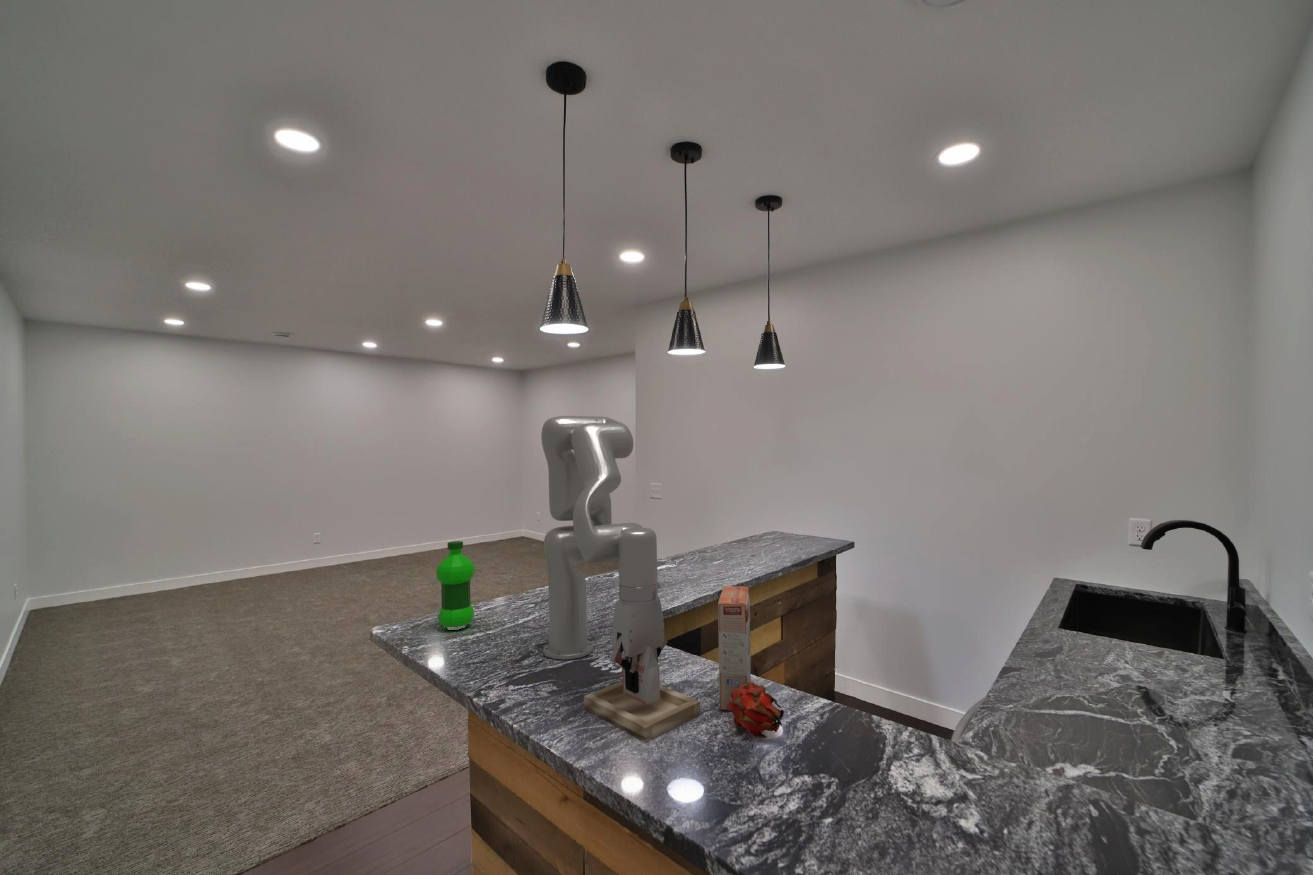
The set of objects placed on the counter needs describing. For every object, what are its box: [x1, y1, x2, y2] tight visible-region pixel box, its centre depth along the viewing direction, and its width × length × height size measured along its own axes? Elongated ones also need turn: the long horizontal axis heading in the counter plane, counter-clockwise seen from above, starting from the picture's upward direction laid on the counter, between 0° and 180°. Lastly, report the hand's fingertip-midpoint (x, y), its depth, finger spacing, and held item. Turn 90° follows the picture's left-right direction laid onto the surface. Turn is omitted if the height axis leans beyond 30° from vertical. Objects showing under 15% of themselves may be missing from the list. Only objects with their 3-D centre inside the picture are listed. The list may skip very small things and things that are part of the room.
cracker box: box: [717, 585, 752, 711], centre depth 114 cm, size 14×6×21 cm, turn 168°
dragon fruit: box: [726, 680, 785, 739], centre depth 100 cm, size 8×8×12 cm
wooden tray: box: [583, 681, 701, 743], centre depth 108 cm, size 18×14×2 cm
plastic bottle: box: [435, 540, 476, 628], centre depth 163 cm, size 10×10×25 cm
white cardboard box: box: [621, 646, 661, 704], centre depth 108 cm, size 4×7×10 cm, turn 44°
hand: (640, 686), depth 108 cm, fingers closed on white cardboard box, 3 cm apart
